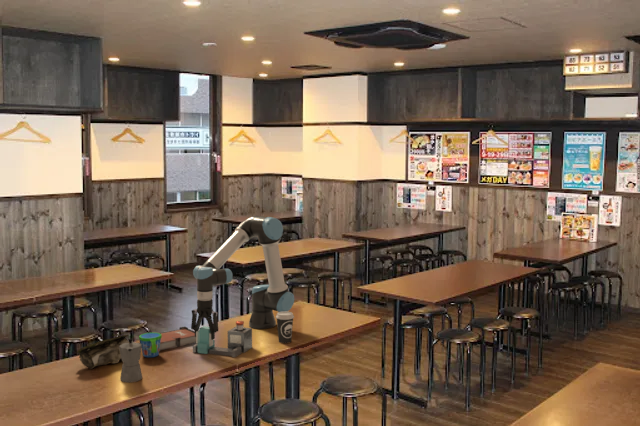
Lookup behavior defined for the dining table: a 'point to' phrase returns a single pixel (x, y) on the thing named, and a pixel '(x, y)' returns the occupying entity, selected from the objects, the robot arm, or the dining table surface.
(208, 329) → the carriage
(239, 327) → the gauge plunger
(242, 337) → the end cabinet
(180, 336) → the book
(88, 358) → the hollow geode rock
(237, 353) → the rail
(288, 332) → the coffee cup
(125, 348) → the coffeepot
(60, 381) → the dining table surface
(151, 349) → the snack cup
